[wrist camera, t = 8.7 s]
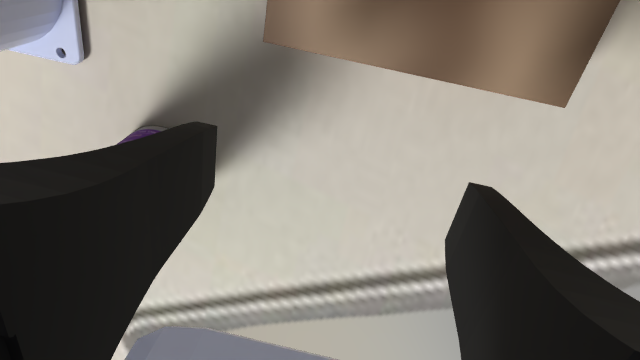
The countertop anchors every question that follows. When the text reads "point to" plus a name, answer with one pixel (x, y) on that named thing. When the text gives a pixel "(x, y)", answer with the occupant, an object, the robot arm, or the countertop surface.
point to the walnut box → (454, 39)
